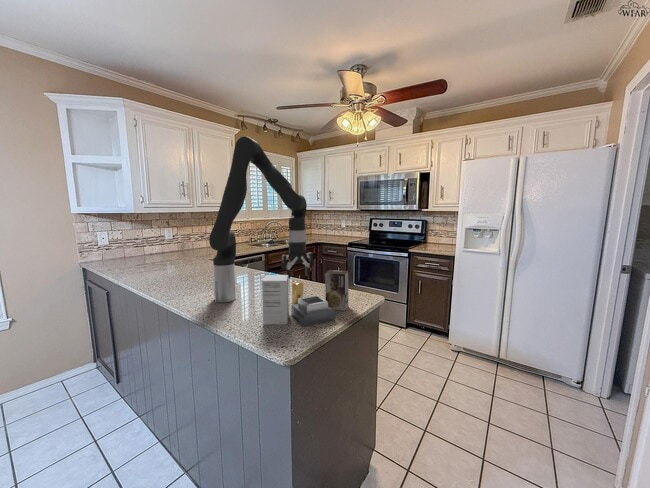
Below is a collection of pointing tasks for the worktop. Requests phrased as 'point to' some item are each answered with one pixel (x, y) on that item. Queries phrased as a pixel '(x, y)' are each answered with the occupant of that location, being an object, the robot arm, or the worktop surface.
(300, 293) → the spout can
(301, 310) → the grey square socket base
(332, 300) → the coffee box
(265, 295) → the supplement box
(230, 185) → the robot arm
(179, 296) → the worktop surface
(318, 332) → the worktop surface
